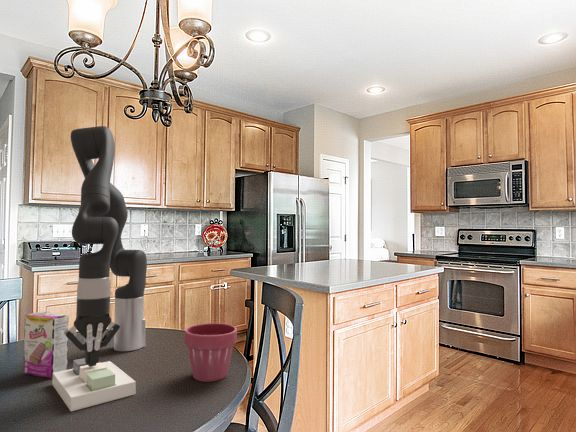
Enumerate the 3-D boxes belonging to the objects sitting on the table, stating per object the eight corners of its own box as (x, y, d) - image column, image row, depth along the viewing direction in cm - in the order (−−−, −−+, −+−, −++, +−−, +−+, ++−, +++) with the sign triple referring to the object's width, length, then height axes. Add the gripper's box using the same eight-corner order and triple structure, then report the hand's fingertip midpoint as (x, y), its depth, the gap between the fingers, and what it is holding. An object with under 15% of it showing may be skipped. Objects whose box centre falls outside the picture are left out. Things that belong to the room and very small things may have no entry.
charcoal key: (93, 367, 105) (93, 356, 106) (99, 372, 102) (99, 360, 102) (73, 371, 102) (73, 360, 102) (77, 377, 98) (78, 365, 99)
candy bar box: (21, 374, 107) (23, 314, 108) (38, 368, 112) (40, 311, 112) (51, 379, 103) (53, 317, 104) (68, 373, 108) (69, 313, 109)
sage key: (108, 381, 96) (108, 368, 96) (115, 387, 92) (115, 374, 92) (86, 386, 92) (86, 373, 93) (92, 393, 89) (92, 379, 89)
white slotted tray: (109, 371, 109) (109, 361, 109) (135, 394, 94) (135, 381, 94) (52, 384, 100) (52, 372, 100) (70, 411, 85) (71, 397, 85)
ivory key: (100, 374, 101) (100, 362, 101) (106, 379, 97) (106, 367, 97) (79, 378, 97) (79, 366, 97) (84, 384, 94) (84, 371, 94)
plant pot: (247, 375, 107) (247, 328, 107) (204, 390, 96) (204, 338, 97) (215, 363, 116) (216, 320, 117) (173, 375, 106) (174, 328, 107)
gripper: (116, 291, 105) (114, 356, 104) (60, 296, 96) (58, 367, 96) (125, 294, 99) (124, 363, 98) (67, 300, 91) (65, 375, 90)
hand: (91, 365), depth 97 cm, fingers closed
